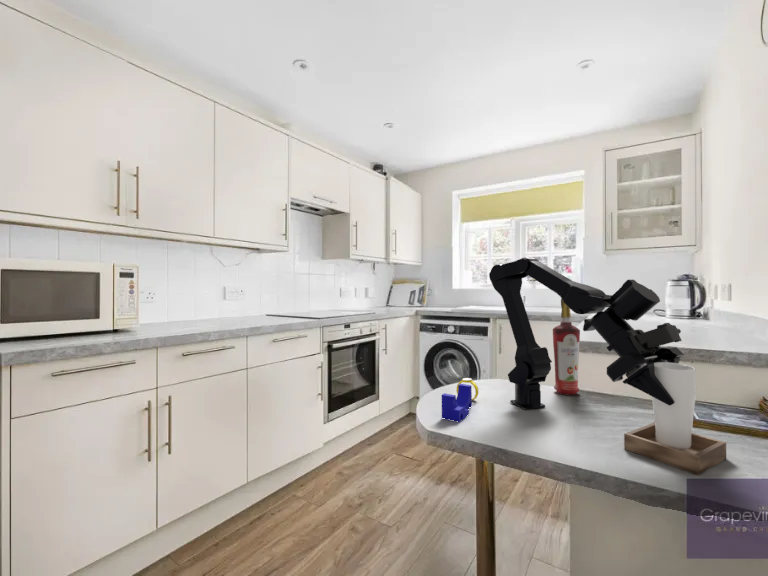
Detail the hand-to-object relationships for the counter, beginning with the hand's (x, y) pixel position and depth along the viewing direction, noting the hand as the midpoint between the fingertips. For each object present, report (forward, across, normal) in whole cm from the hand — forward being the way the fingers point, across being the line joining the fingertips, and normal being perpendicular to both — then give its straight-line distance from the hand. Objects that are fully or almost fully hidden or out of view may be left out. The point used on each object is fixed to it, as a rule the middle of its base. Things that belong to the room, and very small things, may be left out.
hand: (681, 401), depth 68 cm
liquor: (-18, +19, +33) cm, 42 cm away
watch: (-25, -10, +40) cm, 49 cm away
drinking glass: (+5, 0, +7) cm, 9 cm away
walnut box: (+6, 0, +8) cm, 10 cm away
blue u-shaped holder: (-20, -20, +35) cm, 45 cm away
